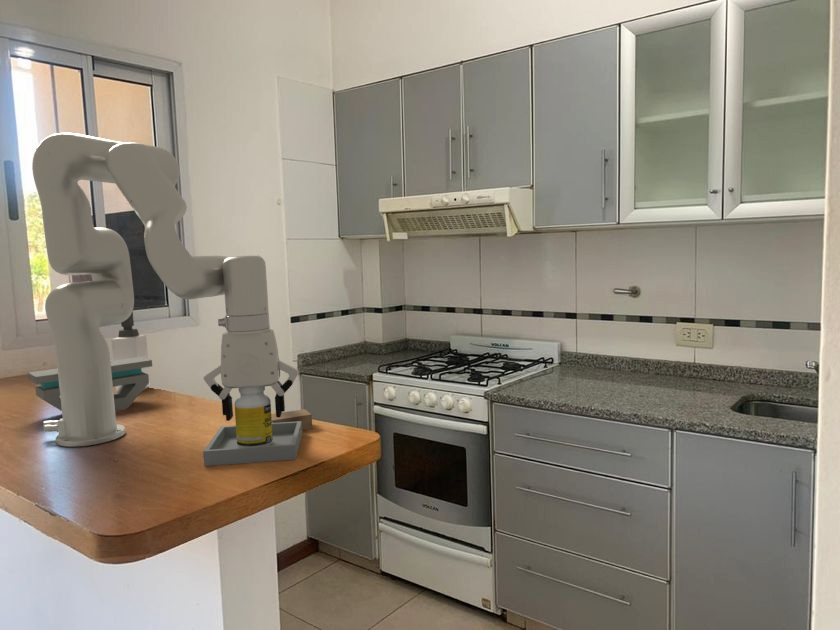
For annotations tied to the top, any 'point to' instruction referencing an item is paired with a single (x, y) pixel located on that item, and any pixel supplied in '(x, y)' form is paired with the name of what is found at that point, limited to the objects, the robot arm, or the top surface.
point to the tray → (280, 449)
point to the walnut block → (295, 418)
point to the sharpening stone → (123, 375)
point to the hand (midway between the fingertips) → (254, 416)
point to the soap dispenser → (130, 345)
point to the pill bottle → (253, 418)
